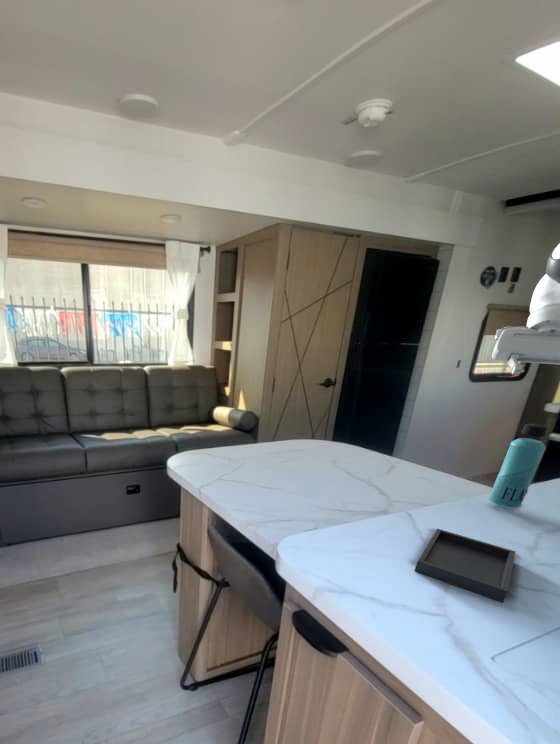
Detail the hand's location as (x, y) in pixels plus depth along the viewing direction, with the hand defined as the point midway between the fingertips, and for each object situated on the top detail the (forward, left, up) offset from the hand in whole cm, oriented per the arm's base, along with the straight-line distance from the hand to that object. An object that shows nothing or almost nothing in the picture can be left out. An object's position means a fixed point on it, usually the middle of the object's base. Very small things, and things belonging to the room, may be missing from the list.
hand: (541, 374), depth 94 cm
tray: (+25, +43, -29) cm, 57 cm away
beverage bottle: (+4, +12, -29) cm, 32 cm away
